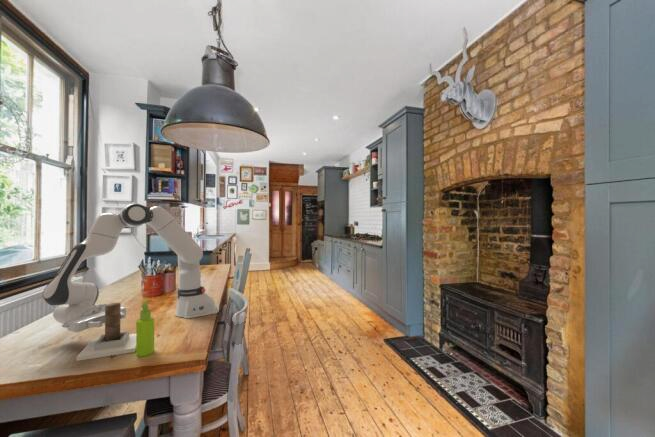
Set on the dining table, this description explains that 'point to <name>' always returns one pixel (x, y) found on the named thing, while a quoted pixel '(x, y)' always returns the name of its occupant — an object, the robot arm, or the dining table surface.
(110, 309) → the walnut leg
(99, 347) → the stool seat
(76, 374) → the dining table surface
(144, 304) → the soap dispenser
